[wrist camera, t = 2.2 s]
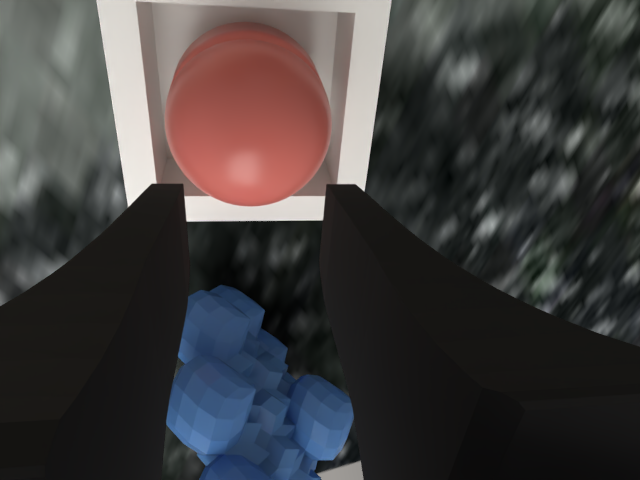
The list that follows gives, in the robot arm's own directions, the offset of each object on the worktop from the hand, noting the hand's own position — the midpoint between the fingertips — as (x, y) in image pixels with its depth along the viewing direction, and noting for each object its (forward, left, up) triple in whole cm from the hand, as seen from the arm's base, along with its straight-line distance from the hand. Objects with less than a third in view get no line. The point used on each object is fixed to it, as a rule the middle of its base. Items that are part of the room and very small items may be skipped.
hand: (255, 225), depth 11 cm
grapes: (-12, -1, -10) cm, 15 cm away
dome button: (0, 0, -8) cm, 8 cm away
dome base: (0, 0, -9) cm, 9 cm away
